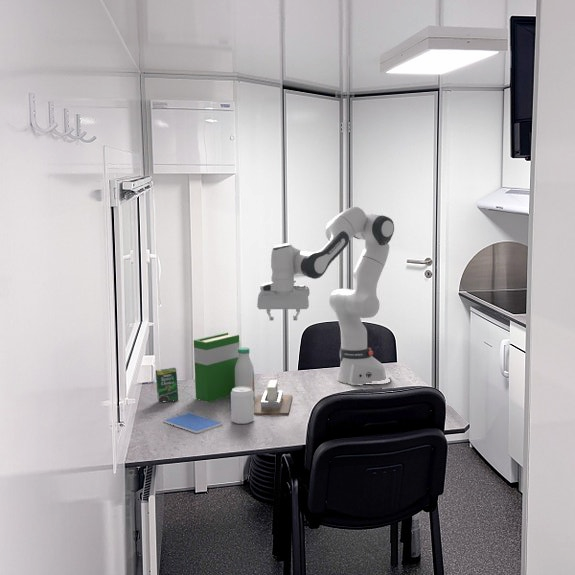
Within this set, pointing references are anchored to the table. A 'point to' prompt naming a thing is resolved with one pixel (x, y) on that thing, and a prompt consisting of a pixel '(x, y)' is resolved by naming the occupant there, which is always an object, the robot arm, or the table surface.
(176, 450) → the table surface
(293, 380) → the table surface
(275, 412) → the track board
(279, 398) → the bottom track
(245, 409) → the beverage can
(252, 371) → the milk bottle
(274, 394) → the door panel
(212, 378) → the hardback book
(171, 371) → the coffee box
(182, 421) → the tablet computer
